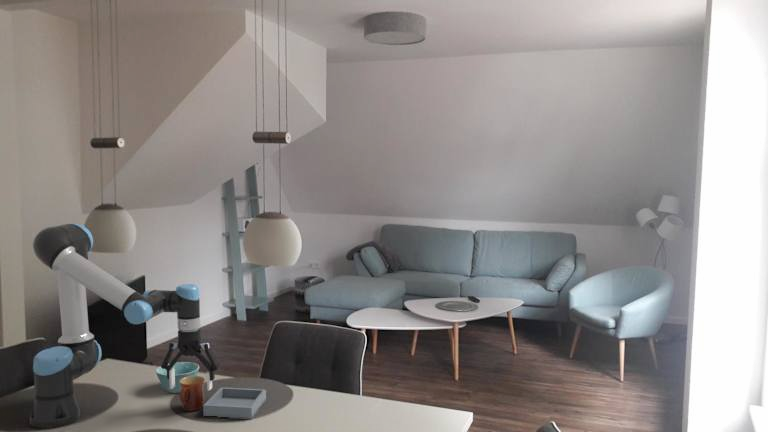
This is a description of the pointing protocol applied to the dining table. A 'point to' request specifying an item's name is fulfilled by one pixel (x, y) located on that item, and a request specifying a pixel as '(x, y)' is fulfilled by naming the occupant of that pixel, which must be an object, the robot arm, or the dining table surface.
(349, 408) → the dining table surface
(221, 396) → the tray
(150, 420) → the dining table surface
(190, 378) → the mug
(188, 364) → the bowl
